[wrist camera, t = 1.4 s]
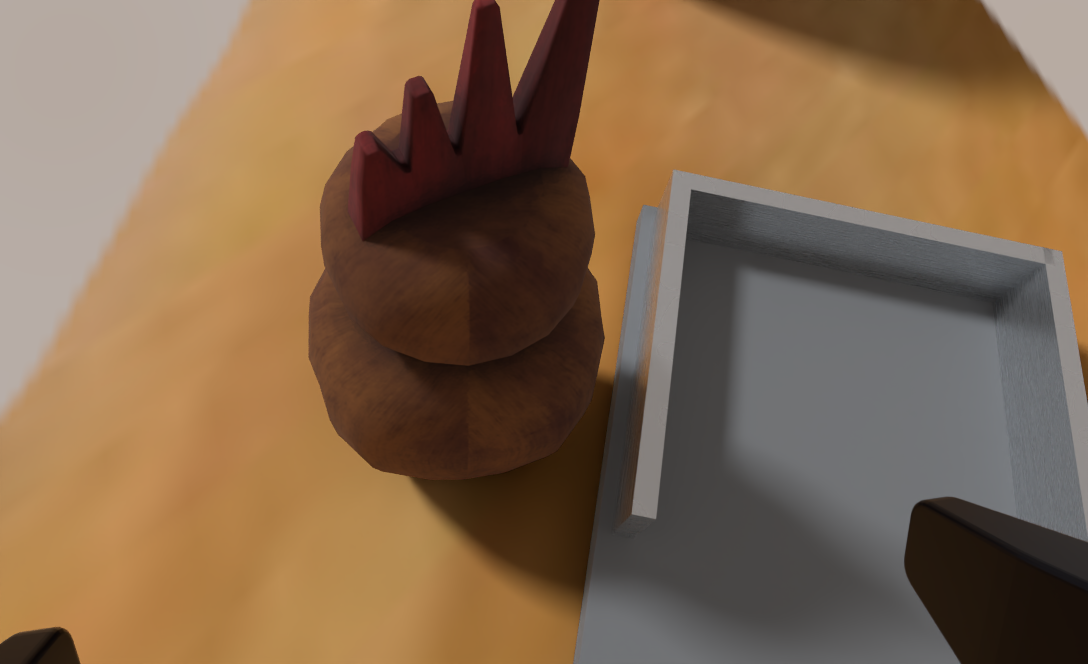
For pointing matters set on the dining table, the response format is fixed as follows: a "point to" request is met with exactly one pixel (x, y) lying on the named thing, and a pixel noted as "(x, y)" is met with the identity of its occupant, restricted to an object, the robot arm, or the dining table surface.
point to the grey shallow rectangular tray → (817, 425)
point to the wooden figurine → (464, 266)
